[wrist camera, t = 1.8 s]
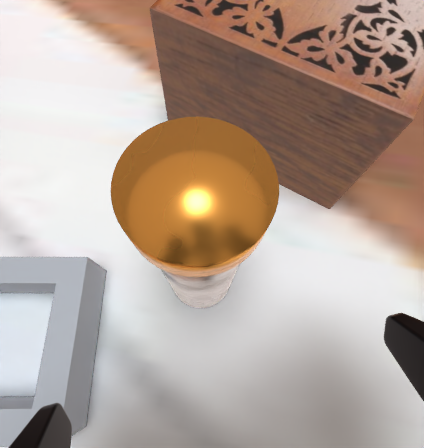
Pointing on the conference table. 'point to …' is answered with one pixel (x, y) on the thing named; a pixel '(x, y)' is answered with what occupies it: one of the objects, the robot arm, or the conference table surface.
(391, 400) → the conference table surface
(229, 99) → the tissue box cover
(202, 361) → the conference table surface
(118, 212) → the gold-capped bottle
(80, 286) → the grey square hollow block
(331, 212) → the conference table surface
